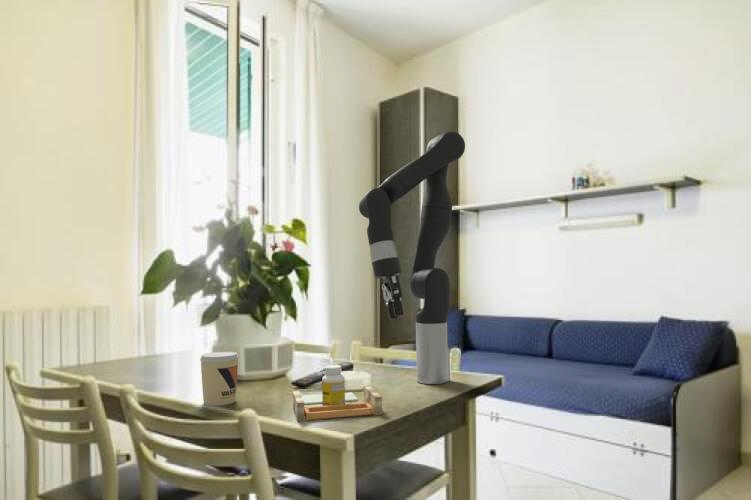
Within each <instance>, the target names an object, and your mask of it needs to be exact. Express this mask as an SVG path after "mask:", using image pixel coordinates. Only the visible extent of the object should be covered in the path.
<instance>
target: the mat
mask: <svg viewBox="0 0 751 500" xmlns="http://www.w3.org/2000/svg"><path fill="white" fill-rule="evenodd" d="M301 396H302V399H303V401H304V406H306V405H318V404H320V405H321V404H322V393H320V394H309V395H308V394H307V395H301ZM358 401H359V399H358V397H357V396H356V395H355V394H354V393H353V392H352V391H351V392H345V403H346V402H358Z"/></svg>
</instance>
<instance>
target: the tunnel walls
mask: <svg viewBox="0 0 751 500" xmlns="http://www.w3.org/2000/svg"><path fill="white" fill-rule="evenodd" d="M291 396H292V410H293V414H294V416H295V419H296V422H298V423H299V422H301V423H302V422H305V416H304V407H305V405H304V401H303V399H302V396H303V395H301V392H300V390H292V395H291ZM363 403H369V404H370V405H371V406H372V407H373V415H375V416H382V415H383V397H382V395H381V394H380V393H378V392H377V391H376V390H375V389H374V388H373V387H372V386H370V385H363Z"/></svg>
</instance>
